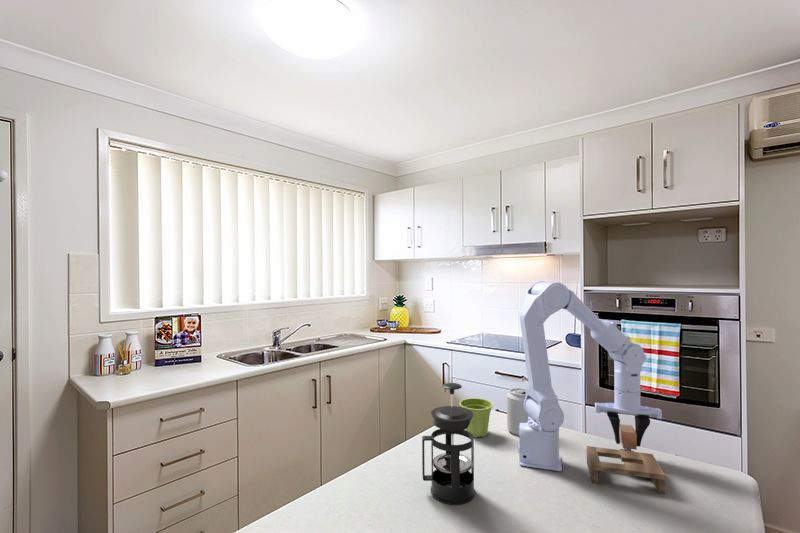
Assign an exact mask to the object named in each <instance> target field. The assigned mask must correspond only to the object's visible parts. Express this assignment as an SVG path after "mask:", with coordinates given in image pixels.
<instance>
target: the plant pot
mask: <svg viewBox="0 0 800 533" xmlns="http://www.w3.org/2000/svg"><path fill="white" fill-rule="evenodd" d="M459 407H463V408H466V409H468V410H470V411H472V412H473V418H472V419H471V421H470V424H469V426H468V428H467V429H465V430H466V431H468V432H470V433H471V434H472V435H473V437H474V438H480V437H482V438H484V437H485V436H487V435H488V430H489V422H490V415H491V412H492V408H493V407H494V403H493V402H492V401H491V400H488V399H484V398H481V397H480V398H479V397H478V398H477V397H470V398H465V399H461V400H460V401H459Z"/></svg>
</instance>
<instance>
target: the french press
mask: <svg viewBox="0 0 800 533" xmlns="http://www.w3.org/2000/svg"><path fill="white" fill-rule="evenodd" d="M441 387H442V388H443V389H446V390H449V394H450V404H451V405H445V406H439V407H436V408H433V409H432V410H431V411H430V416H431V417H432V418H433V420H432V422H433V423H432V424H433V426H435V427H436V428H438V429H436V430H434V431H432V433H431V435H423V436H421V437H422V438H421V455H422V456H421V460H422V461H421V464H422V465H421V466H422V467H421V471H422V474H421V475H422V480H423V481H425V482H429V481H430V482H431V485H430V486H431V487H430V494H431V496H432V497H433V498H434V500H436V501H437V502H440V503H443V504H446V505H453V506H454V505H455V506H458V505H459V506H460V505H464V504H467V503H469V502H471V501H472V500H474V498H475V495H476V491H475V472H474V471H475V468H474V467H475V461H474V460H475V456H474V455H475V454H474V453H475V451H474V450H475V449H474V448H475V447H474V446H475V444H474V442H475V441H474V438H475V437H473V435H472V434H471V433H470V432H468V431H466V430H465V429H467V428H468V426H469V424H470V421H471V419H472V418H473V412H472V411H470V410H468V409H466V408H463V407H461V406H457V405H456V406H455V405H453V404H454V403H453V402H454V394H455V390H460V389H461V388H463V386H462V385H461V384H459V383H456V382H455V383H454V382H446V383H443V384H442V386H441ZM441 435H445V443H442V442H439V441H437V440H436V439H435V438H437V437H438V436H441ZM454 435H459V436H464V437H466V438H468V439H470V441H468V442H466V443H462V444H454ZM425 441H426V442H427V441H431V442H430V443H431V444H430V446H431V447H430V448H431V450H430V452H431V462H430V463H431V474H430V475H429V474H426V473H425ZM434 448H436V449H438V450H442V451H443V452H444V451H445V453H441V454H439V455H435V456H434ZM470 449H471V450H470ZM467 450H470V451H471V452H470V453H471V454H470V455H471V456H470V457H471V458H469V457H468V456H466V455H463V454H461V452H465V451H467ZM434 468H435V470H434ZM446 483H451V486H445V485H442V484H446ZM461 485H462V486H461Z"/></svg>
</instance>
